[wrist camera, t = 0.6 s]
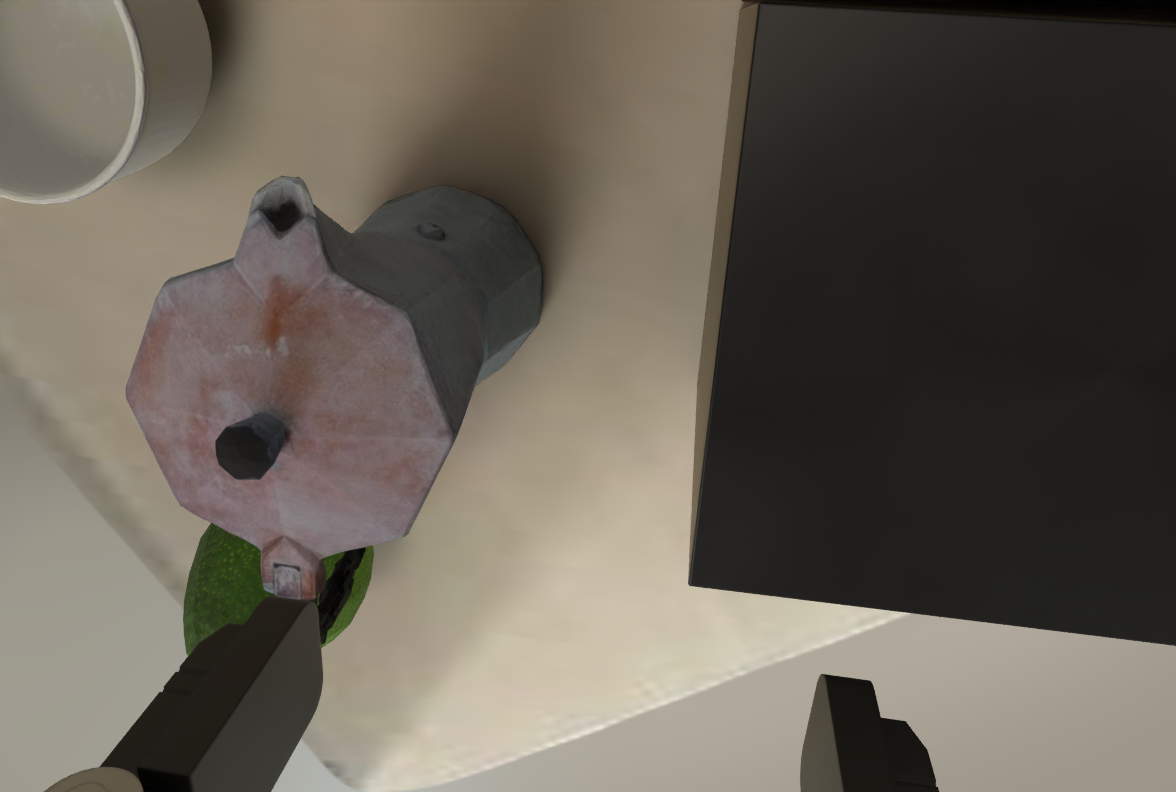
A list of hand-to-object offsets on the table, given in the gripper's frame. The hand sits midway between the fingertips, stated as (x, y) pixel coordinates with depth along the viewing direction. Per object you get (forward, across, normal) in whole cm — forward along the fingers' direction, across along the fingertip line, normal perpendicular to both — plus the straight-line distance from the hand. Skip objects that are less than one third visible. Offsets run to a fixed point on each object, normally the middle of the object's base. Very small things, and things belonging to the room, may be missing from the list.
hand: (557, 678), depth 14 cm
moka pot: (+28, +9, +3) cm, 29 cm away
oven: (+27, -12, -2) cm, 30 cm away
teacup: (+28, +25, -7) cm, 38 cm away
